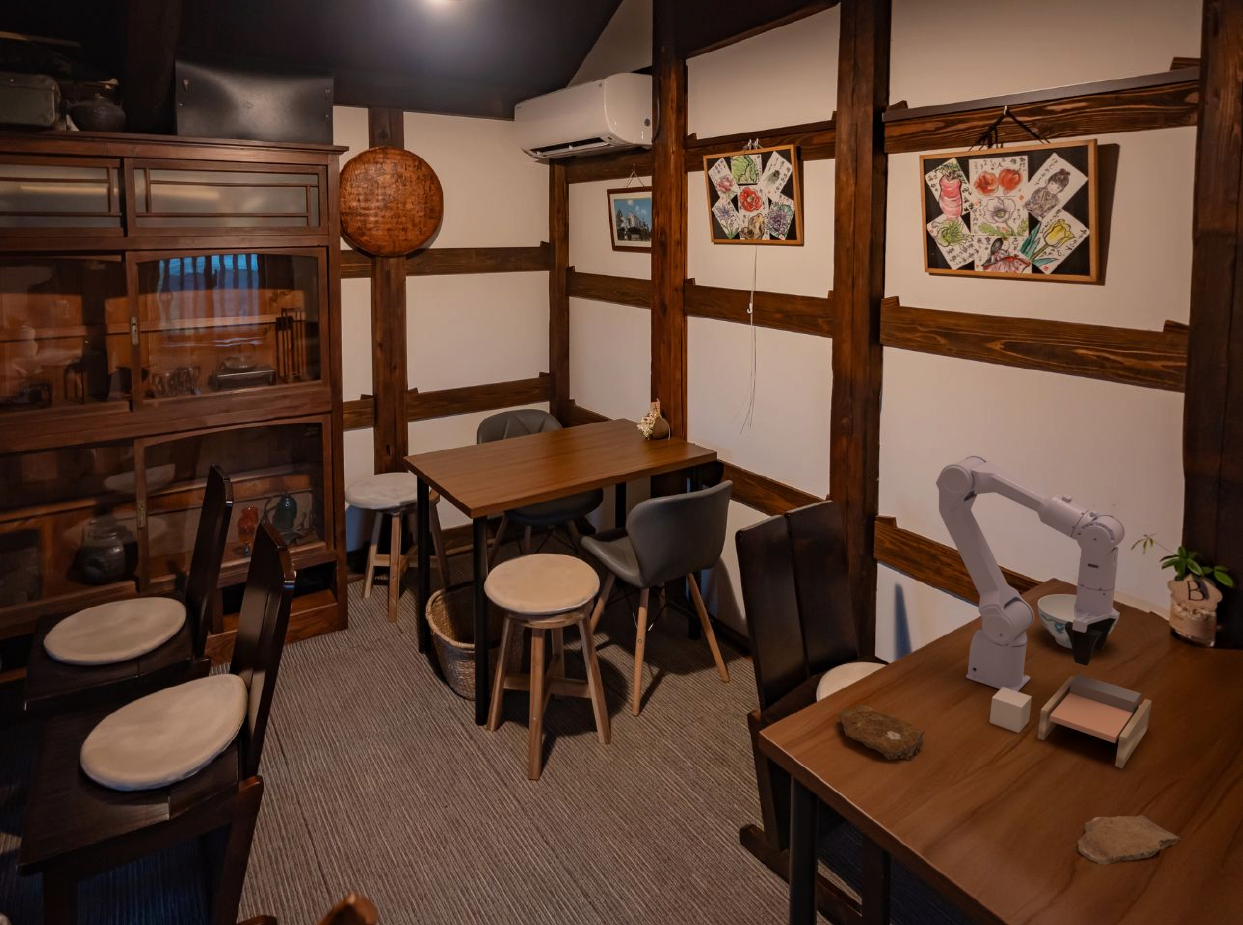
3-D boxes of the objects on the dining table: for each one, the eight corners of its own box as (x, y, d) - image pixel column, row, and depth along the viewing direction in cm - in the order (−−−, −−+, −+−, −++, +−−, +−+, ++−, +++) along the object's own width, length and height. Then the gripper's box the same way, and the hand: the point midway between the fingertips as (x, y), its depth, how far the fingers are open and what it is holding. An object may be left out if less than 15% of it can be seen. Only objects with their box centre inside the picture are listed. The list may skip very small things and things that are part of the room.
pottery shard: (1115, 888, 117) (1183, 843, 123) (1116, 872, 116) (1184, 828, 123) (1059, 851, 124) (1126, 810, 131) (1060, 836, 124) (1127, 796, 130)
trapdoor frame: (1037, 738, 149) (1041, 709, 147) (1067, 703, 160) (1070, 675, 158) (1121, 768, 140) (1126, 738, 139) (1147, 729, 151) (1151, 700, 150)
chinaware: (1041, 621, 193) (1044, 588, 191) (1118, 637, 185) (1122, 604, 183) (1027, 647, 181) (1031, 613, 179) (1108, 666, 173) (1113, 630, 171)
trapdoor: (1049, 720, 147) (1051, 704, 146) (1076, 689, 157) (1078, 674, 156) (1114, 743, 140) (1117, 726, 139) (1138, 708, 150) (1140, 693, 149)
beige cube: (989, 722, 154) (992, 697, 153) (1000, 711, 157) (1002, 686, 156) (1018, 733, 151) (1021, 707, 149) (1028, 721, 154) (1031, 696, 153)
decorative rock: (820, 740, 151) (902, 776, 141) (821, 719, 149) (904, 755, 140) (851, 710, 159) (931, 742, 149) (853, 690, 157) (933, 722, 148)
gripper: (1107, 602, 144) (1099, 677, 148) (1134, 578, 154) (1126, 648, 158) (1062, 592, 149) (1056, 664, 152) (1091, 569, 159) (1084, 637, 162)
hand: (1088, 655), depth 155 cm, fingers open, 7 cm apart
